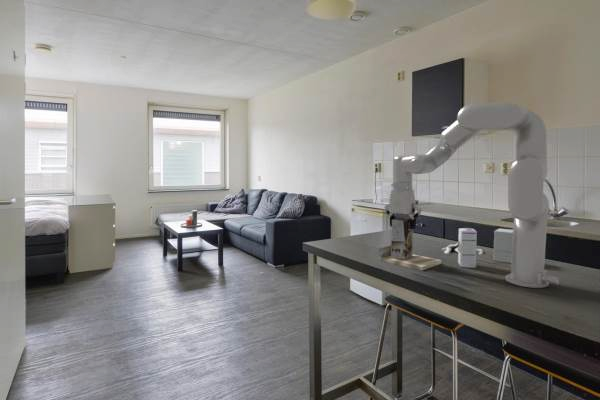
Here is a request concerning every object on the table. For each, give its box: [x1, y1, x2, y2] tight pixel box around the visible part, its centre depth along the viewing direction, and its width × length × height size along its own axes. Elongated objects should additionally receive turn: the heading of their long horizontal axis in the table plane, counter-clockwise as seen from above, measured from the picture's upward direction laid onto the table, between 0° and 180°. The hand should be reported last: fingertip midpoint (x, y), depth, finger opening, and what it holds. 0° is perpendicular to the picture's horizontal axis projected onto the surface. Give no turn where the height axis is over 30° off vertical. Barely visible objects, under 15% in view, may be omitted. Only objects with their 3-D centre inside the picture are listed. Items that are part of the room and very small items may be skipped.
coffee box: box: [390, 216, 414, 260], centre depth 154 cm, size 9×6×16 cm
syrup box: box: [457, 227, 478, 269], centre depth 146 cm, size 6×6×14 cm
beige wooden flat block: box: [378, 244, 442, 271], centre depth 152 cm, size 21×14×6 cm
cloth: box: [441, 242, 484, 255], centre depth 169 cm, size 22×19×6 cm
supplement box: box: [493, 228, 513, 264], centre depth 153 cm, size 7×7×13 cm
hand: (402, 227), depth 154 cm, fingers open, 9 cm apart
